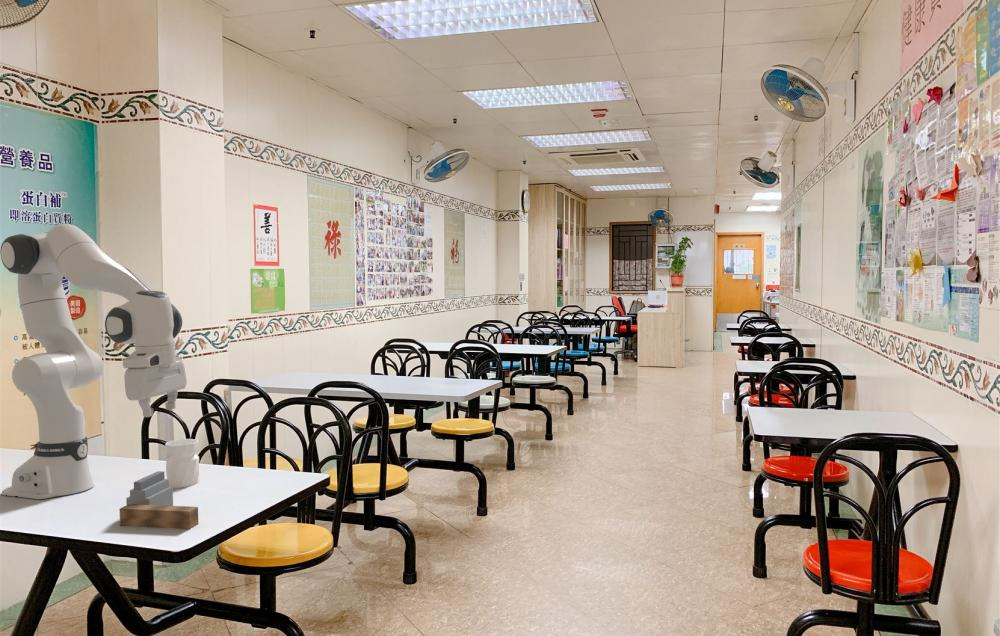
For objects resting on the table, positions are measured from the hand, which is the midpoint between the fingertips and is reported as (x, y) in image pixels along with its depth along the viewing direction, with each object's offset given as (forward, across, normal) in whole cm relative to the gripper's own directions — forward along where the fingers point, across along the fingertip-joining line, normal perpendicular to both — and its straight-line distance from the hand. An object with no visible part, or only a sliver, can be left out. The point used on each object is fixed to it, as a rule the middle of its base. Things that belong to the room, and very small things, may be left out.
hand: (159, 412), depth 175 cm
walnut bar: (+26, +6, +2) cm, 27 cm away
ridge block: (+26, -3, -6) cm, 27 cm away
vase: (+26, -28, -12) cm, 40 cm away
